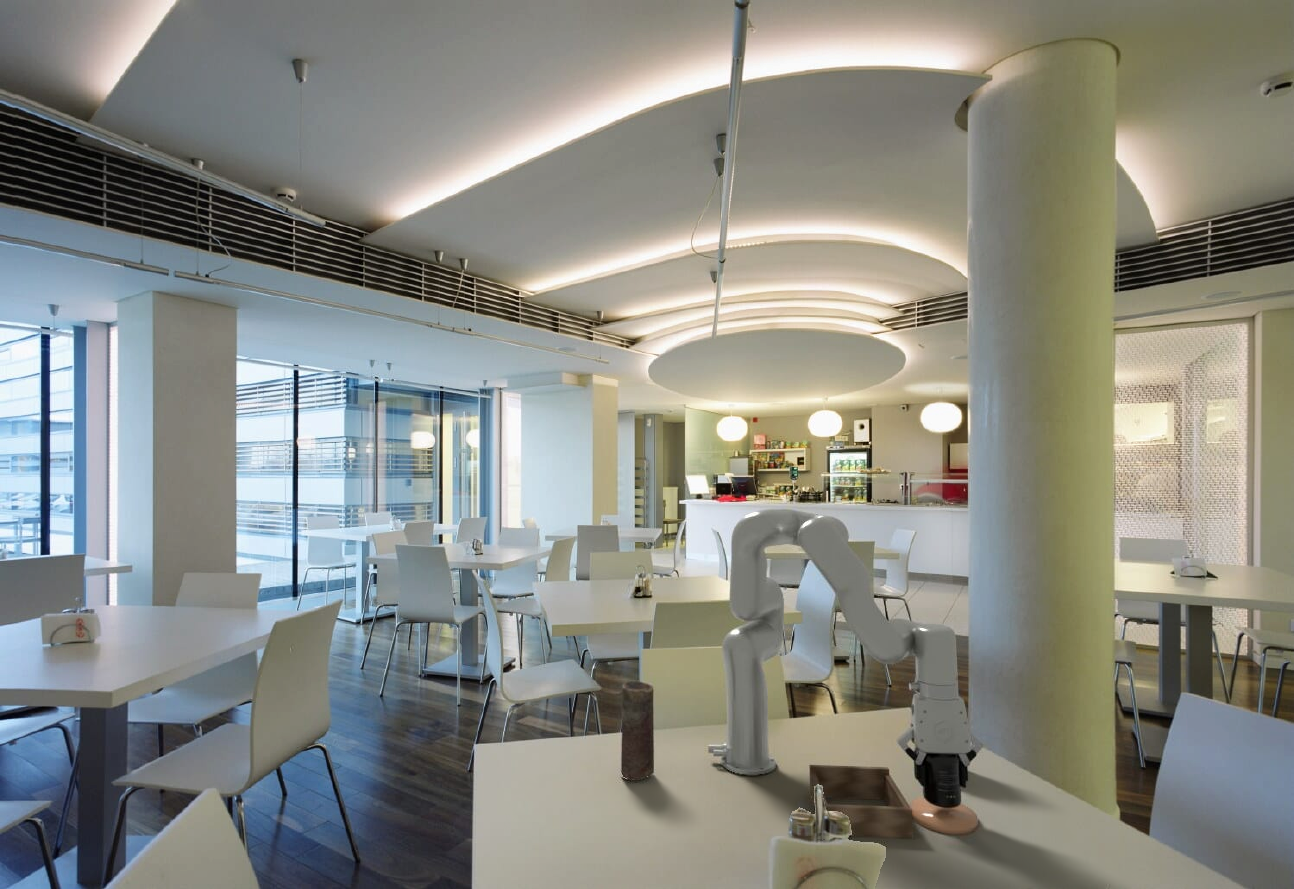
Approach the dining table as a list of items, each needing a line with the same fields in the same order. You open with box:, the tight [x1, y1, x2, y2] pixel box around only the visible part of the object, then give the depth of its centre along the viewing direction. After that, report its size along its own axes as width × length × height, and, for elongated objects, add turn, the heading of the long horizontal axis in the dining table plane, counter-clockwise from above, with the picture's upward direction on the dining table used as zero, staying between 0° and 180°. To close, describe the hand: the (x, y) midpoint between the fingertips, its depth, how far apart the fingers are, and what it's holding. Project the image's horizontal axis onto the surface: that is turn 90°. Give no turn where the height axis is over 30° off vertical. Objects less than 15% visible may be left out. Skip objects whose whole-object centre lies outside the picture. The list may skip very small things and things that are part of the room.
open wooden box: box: [808, 764, 914, 839], centre depth 126 cm, size 16×16×6 cm
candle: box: [620, 680, 655, 781], centre depth 145 cm, size 8×7×20 cm
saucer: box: [909, 797, 979, 835], centre depth 124 cm, size 12×12×1 cm
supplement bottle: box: [922, 753, 962, 808], centre depth 125 cm, size 7×7×12 cm
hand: (941, 783), depth 125 cm, fingers closed on supplement bottle, 6 cm apart
